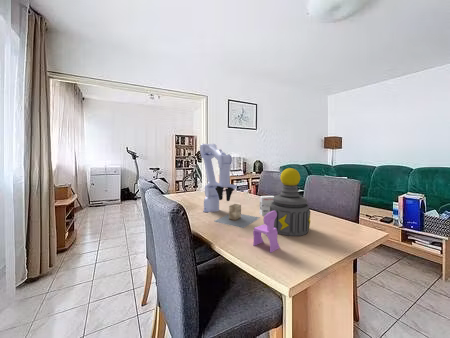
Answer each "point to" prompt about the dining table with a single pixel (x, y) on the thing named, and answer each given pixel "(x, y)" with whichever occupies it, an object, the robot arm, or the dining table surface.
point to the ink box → (265, 204)
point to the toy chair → (267, 231)
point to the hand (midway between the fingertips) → (224, 200)
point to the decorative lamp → (291, 206)
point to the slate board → (241, 222)
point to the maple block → (234, 212)
